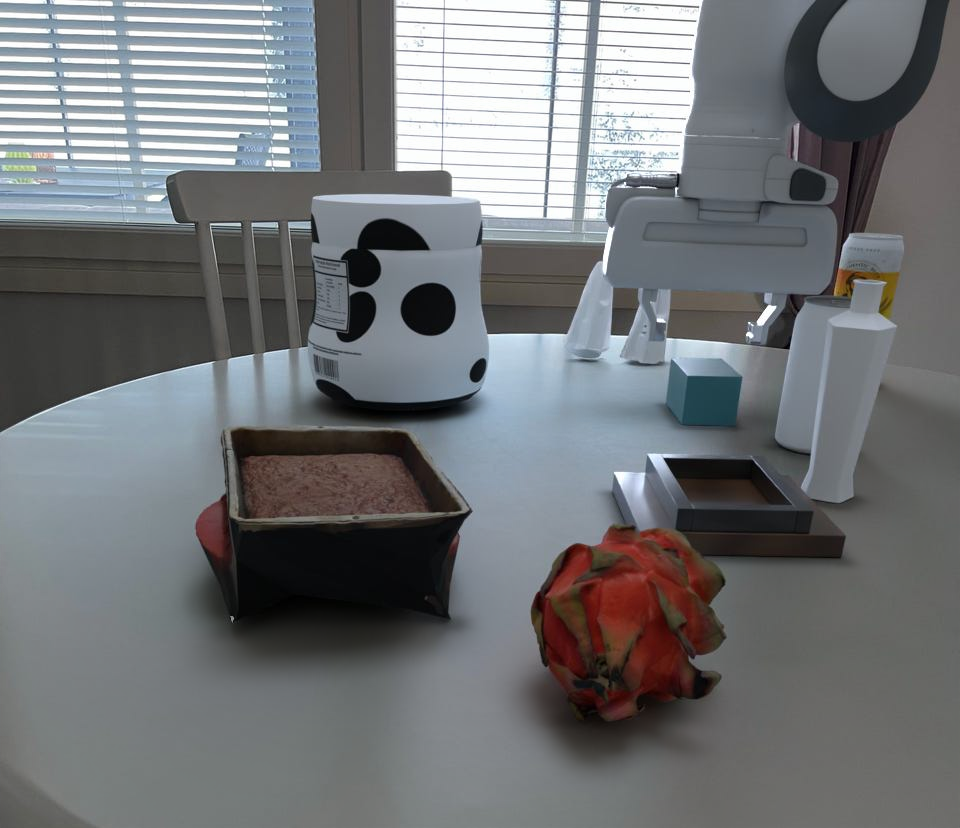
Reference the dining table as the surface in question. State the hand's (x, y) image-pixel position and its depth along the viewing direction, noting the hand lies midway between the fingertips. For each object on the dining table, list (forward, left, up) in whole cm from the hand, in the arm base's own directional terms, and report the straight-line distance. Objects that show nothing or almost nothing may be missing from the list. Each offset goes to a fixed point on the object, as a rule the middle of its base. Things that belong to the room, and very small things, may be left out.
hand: (705, 342), depth 87 cm
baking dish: (+30, +40, -7) cm, 50 cm away
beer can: (-20, -16, -7) cm, 27 cm away
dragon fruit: (+15, +52, -7) cm, 54 cm away
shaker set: (+5, -24, -7) cm, 25 cm away
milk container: (+29, -3, -7) cm, 30 cm away
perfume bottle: (-5, +23, -7) cm, 24 cm away
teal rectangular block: (0, 0, -7) cm, 7 cm away
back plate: (+5, +29, -7) cm, 30 cm away
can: (-8, +10, -7) cm, 15 cm away
